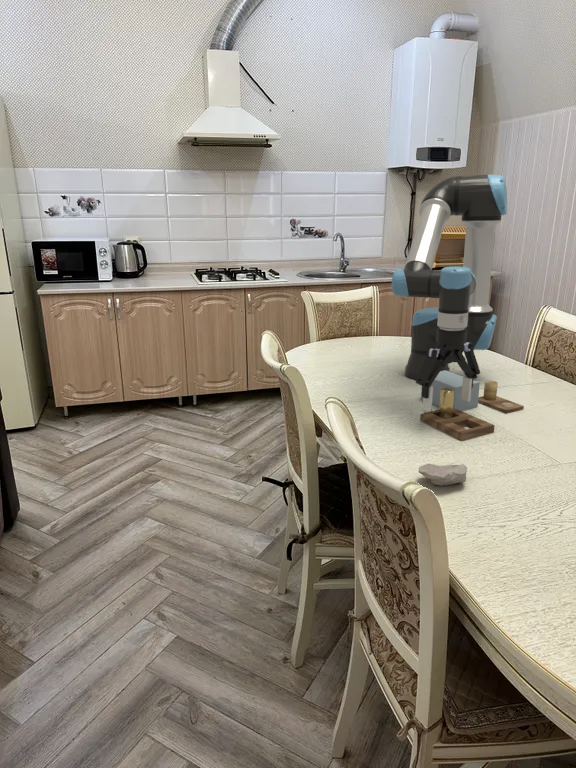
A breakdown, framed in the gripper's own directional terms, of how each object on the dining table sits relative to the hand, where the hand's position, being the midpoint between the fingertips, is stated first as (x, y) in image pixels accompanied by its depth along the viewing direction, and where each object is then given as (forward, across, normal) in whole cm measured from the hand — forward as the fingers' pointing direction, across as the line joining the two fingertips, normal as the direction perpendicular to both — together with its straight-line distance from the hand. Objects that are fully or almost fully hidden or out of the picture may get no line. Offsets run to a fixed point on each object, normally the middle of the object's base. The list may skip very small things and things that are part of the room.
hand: (446, 404), depth 150 cm
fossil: (+5, -25, -27) cm, 37 cm away
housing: (+5, +11, +11) cm, 16 cm away
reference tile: (+5, +22, +2) cm, 23 cm away
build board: (+5, 0, -4) cm, 6 cm away
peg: (+5, 0, 0) cm, 5 cm away
